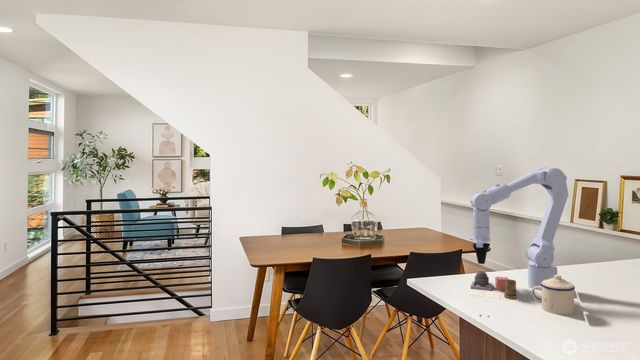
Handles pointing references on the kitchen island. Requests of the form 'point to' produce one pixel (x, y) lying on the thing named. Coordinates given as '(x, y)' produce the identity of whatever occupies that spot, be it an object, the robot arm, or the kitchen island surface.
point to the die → (500, 283)
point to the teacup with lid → (556, 296)
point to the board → (483, 292)
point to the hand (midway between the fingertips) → (481, 263)
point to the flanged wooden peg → (510, 290)
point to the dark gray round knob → (481, 279)
